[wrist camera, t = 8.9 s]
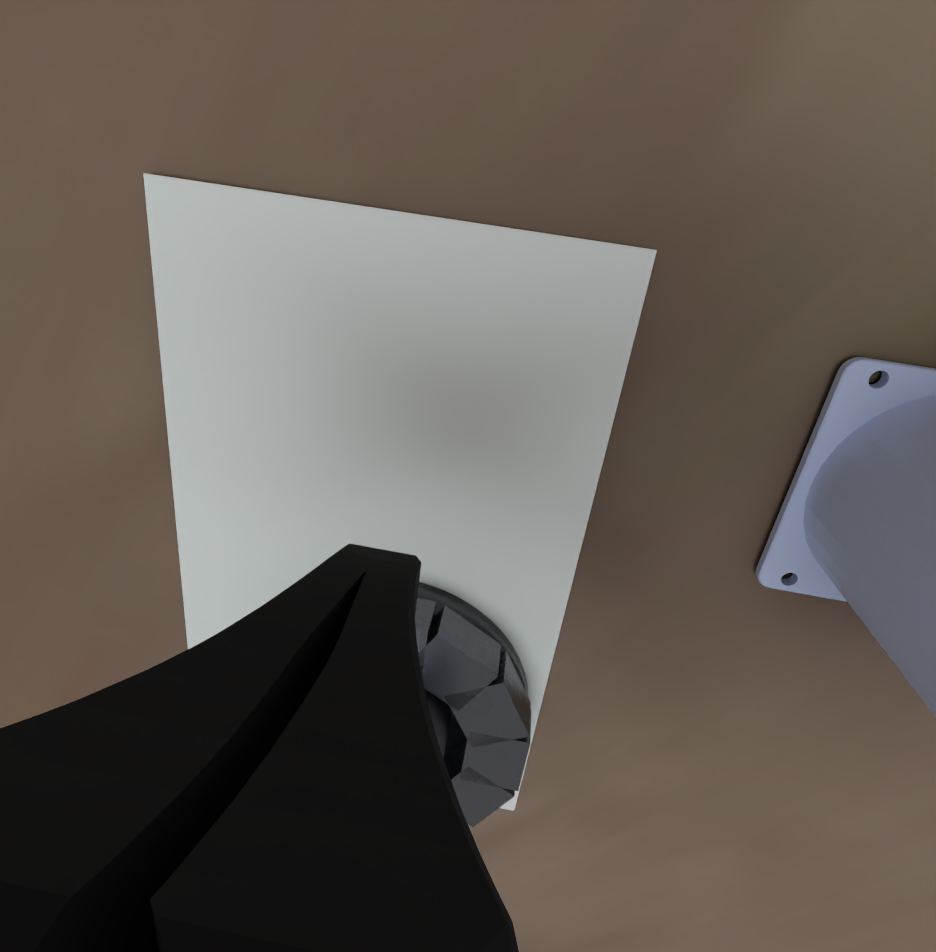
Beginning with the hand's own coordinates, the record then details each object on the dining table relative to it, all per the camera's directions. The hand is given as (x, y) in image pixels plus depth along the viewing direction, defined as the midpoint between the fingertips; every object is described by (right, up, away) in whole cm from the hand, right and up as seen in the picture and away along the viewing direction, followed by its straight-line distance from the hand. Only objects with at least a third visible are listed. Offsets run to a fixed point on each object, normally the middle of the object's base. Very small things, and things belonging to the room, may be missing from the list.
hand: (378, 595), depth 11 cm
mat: (-2, -1, +12) cm, 12 cm away
